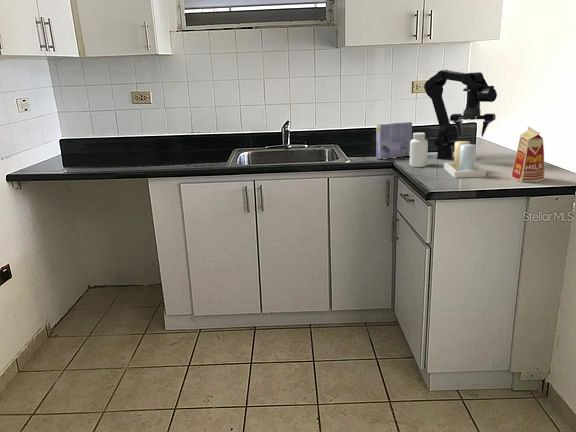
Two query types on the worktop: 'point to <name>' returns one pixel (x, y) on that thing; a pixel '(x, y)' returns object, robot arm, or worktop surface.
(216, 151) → the worktop surface
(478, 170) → the white rectangular tray
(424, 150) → the pill bottle
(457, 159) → the beige tall cylinder
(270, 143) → the worktop surface
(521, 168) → the milk carton
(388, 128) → the cake pan box
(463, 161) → the pale blue cylinder
